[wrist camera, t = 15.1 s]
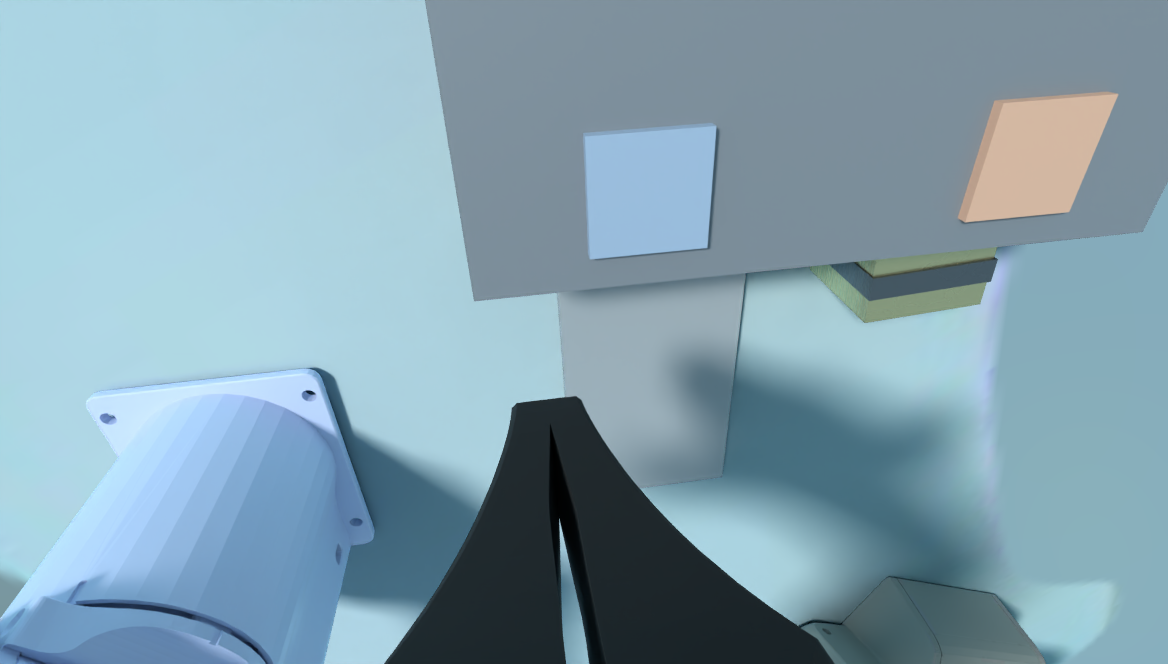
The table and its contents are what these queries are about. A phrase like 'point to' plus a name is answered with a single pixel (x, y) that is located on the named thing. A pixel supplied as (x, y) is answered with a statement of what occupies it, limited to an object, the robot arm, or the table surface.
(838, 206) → the socket bank
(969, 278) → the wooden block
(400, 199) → the table surface
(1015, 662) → the digital clock
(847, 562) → the table surface
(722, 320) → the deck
